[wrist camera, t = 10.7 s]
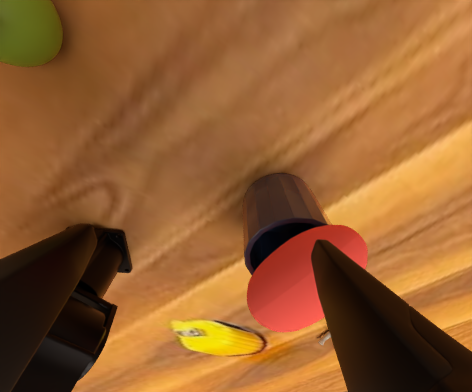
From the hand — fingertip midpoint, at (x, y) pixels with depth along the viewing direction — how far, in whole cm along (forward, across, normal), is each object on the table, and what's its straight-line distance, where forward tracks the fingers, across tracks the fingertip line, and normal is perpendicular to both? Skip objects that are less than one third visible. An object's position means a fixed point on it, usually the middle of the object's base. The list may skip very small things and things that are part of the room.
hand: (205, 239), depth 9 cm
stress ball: (+6, -6, +6) cm, 10 cm away
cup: (+13, -6, +6) cm, 16 cm away
